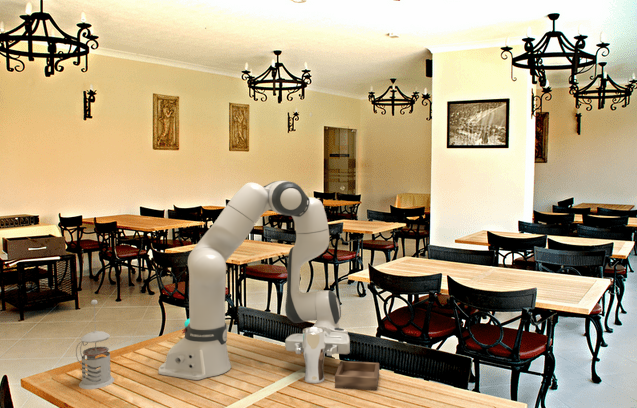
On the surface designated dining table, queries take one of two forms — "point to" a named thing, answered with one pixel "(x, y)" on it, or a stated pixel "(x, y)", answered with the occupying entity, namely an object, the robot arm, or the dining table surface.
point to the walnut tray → (357, 375)
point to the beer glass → (314, 353)
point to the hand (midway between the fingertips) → (313, 352)
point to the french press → (95, 360)
